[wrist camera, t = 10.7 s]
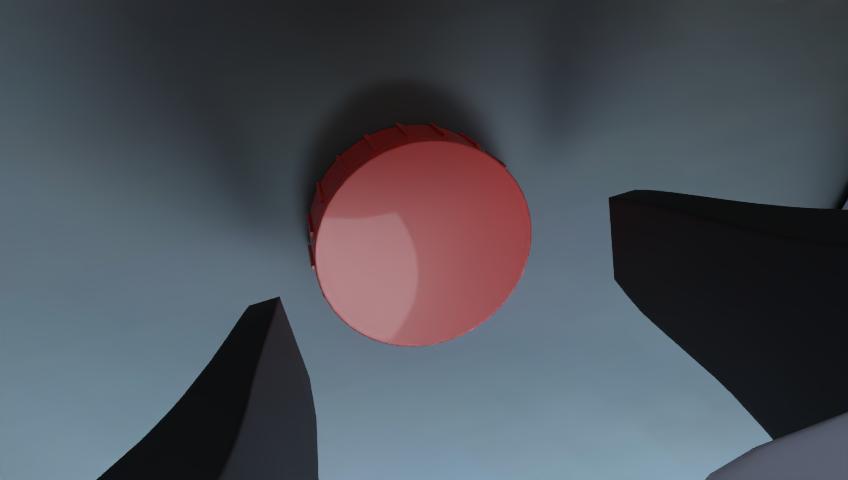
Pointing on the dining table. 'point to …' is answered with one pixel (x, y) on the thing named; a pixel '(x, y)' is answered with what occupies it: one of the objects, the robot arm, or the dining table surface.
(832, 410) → the robot arm
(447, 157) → the lid
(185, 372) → the dining table surface
